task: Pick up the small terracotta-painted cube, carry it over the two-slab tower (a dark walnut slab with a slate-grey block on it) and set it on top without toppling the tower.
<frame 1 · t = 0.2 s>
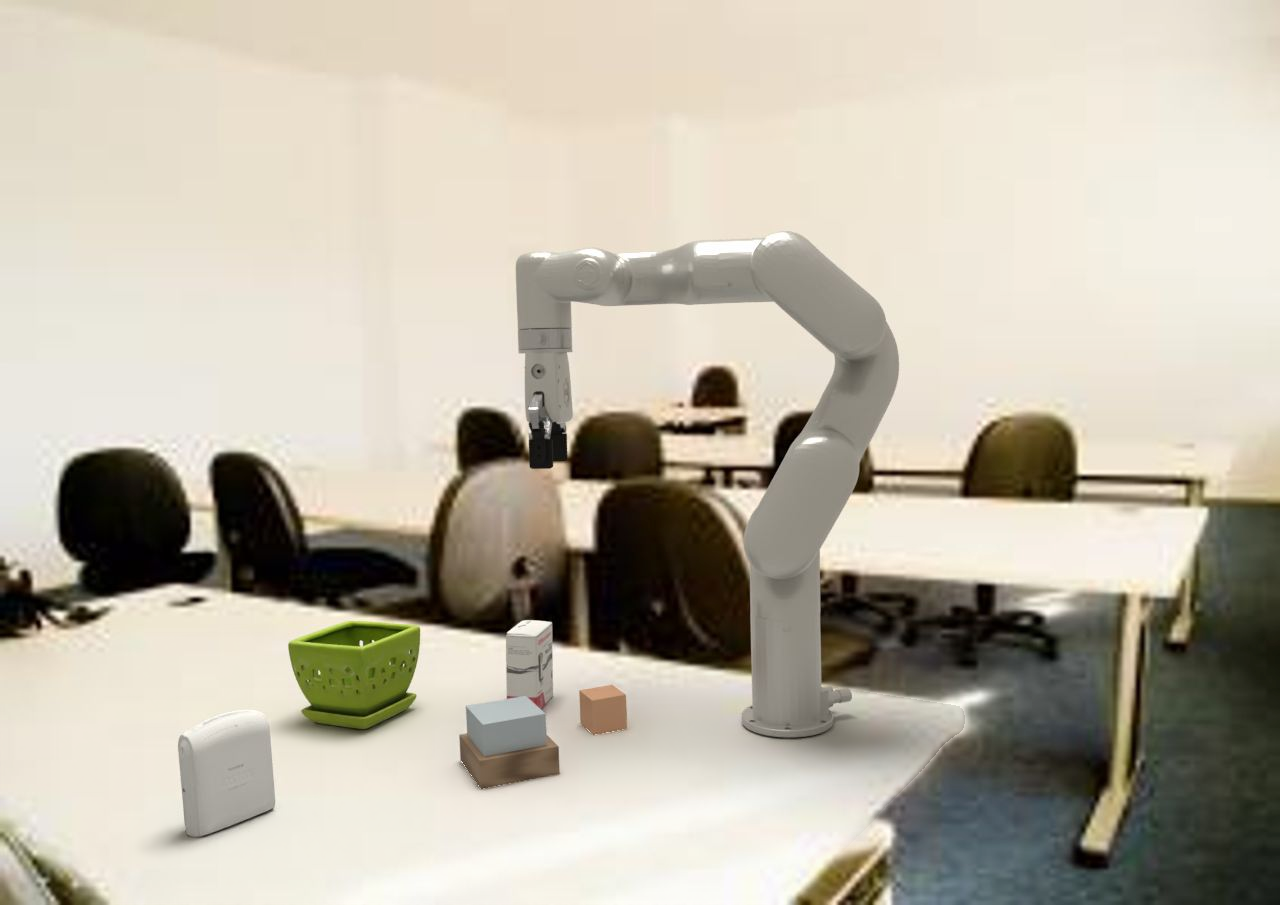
hand: (549, 464, 150), 36 cm above the table, tool pointing down, fingers open, 9 cm apart
walnut slab: (509, 771, 135), on the table, touching slate block
slate block: (506, 740, 134), point 4 cm above the table, touching walnut slab
flower pot: (360, 718, 156), on the table
terracotta cube: (603, 727, 148), on the table
photo printer: (231, 821, 122), on the table
ink box: (531, 706, 159), on the table
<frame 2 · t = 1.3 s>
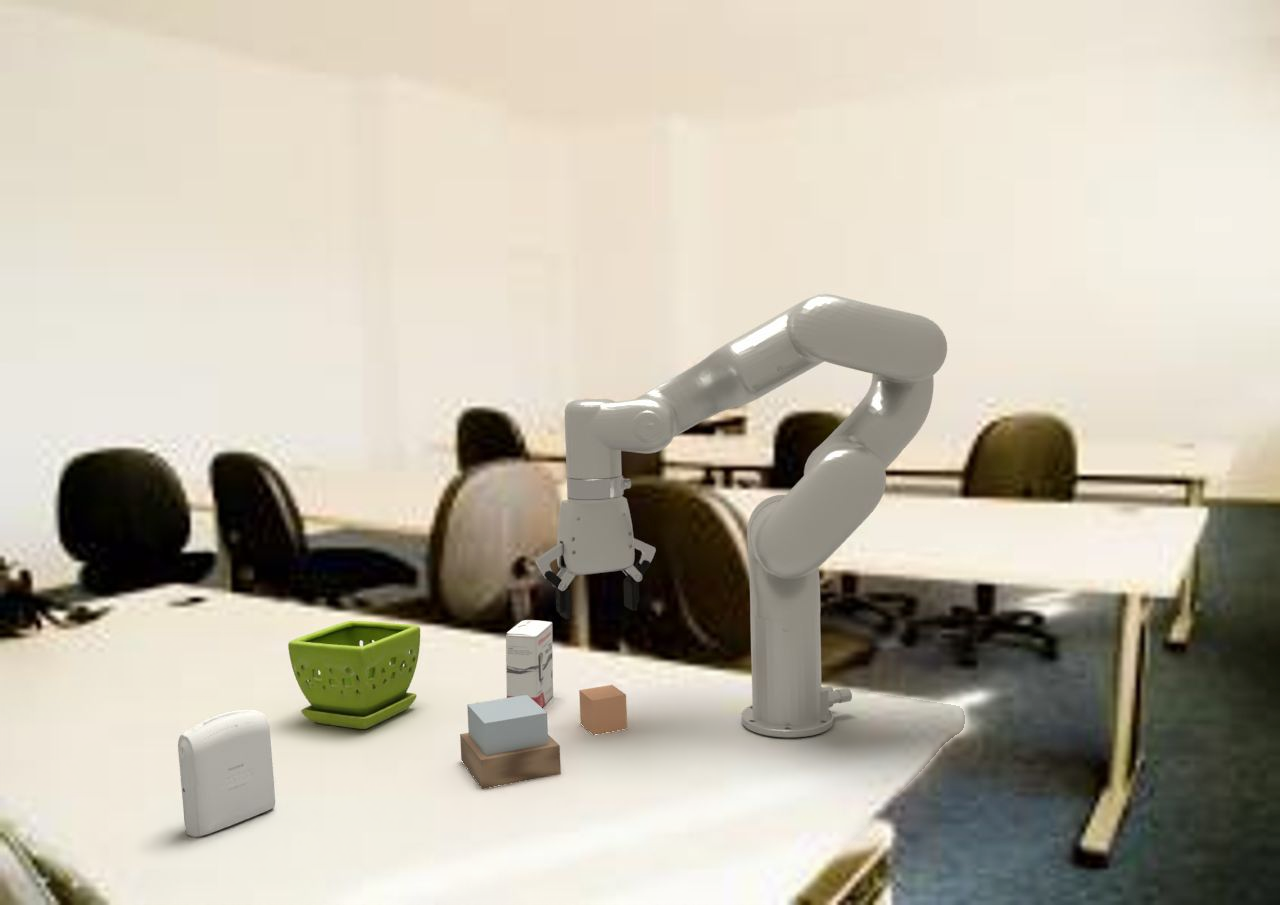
hand: (598, 612, 147), 16 cm above the table, tool pointing down, fingers open, 9 cm apart
nothing on the table moved.
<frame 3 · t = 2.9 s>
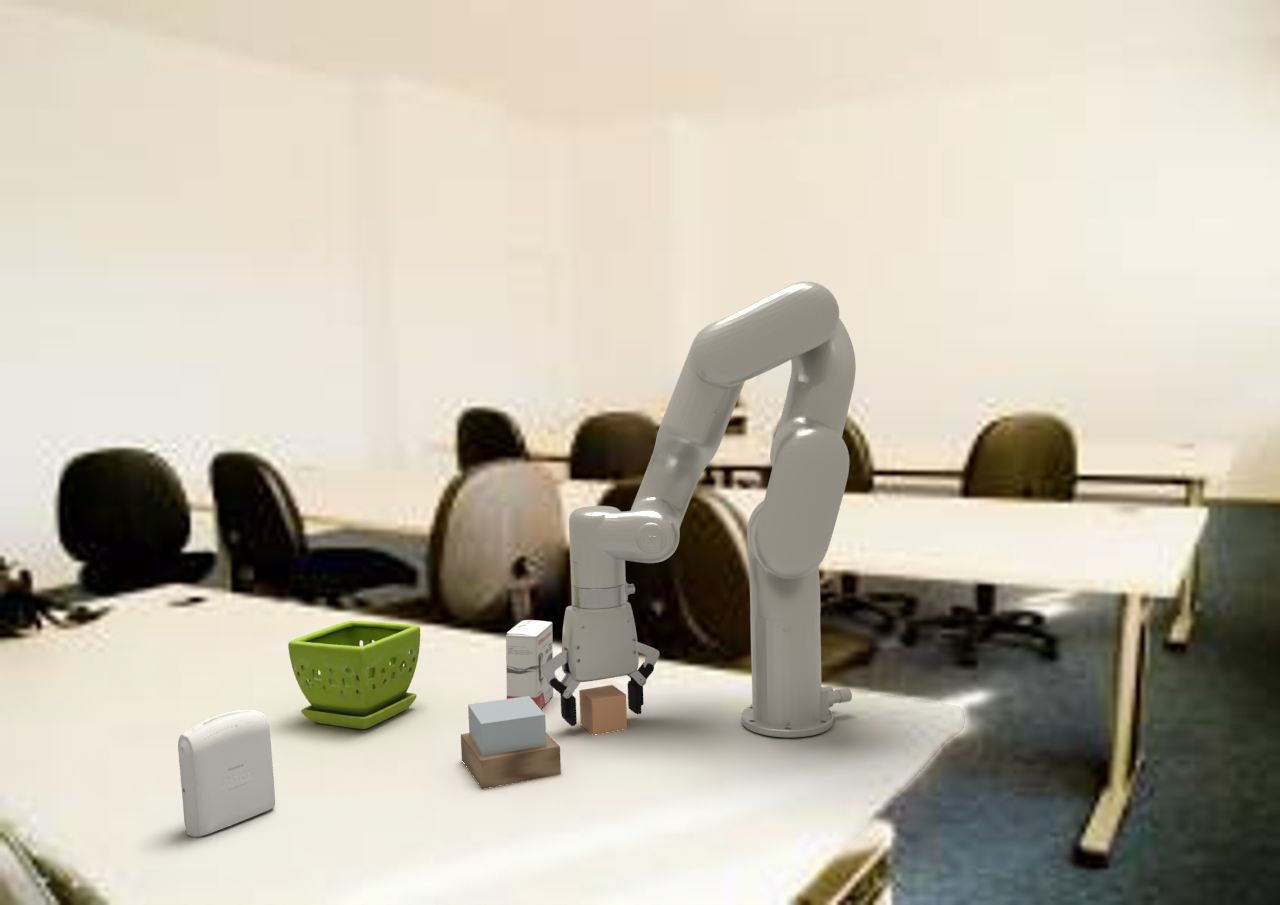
hand: (603, 717, 148), 1 cm above the table, tool pointing down, fingers open, 9 cm apart
nothing on the table moved.
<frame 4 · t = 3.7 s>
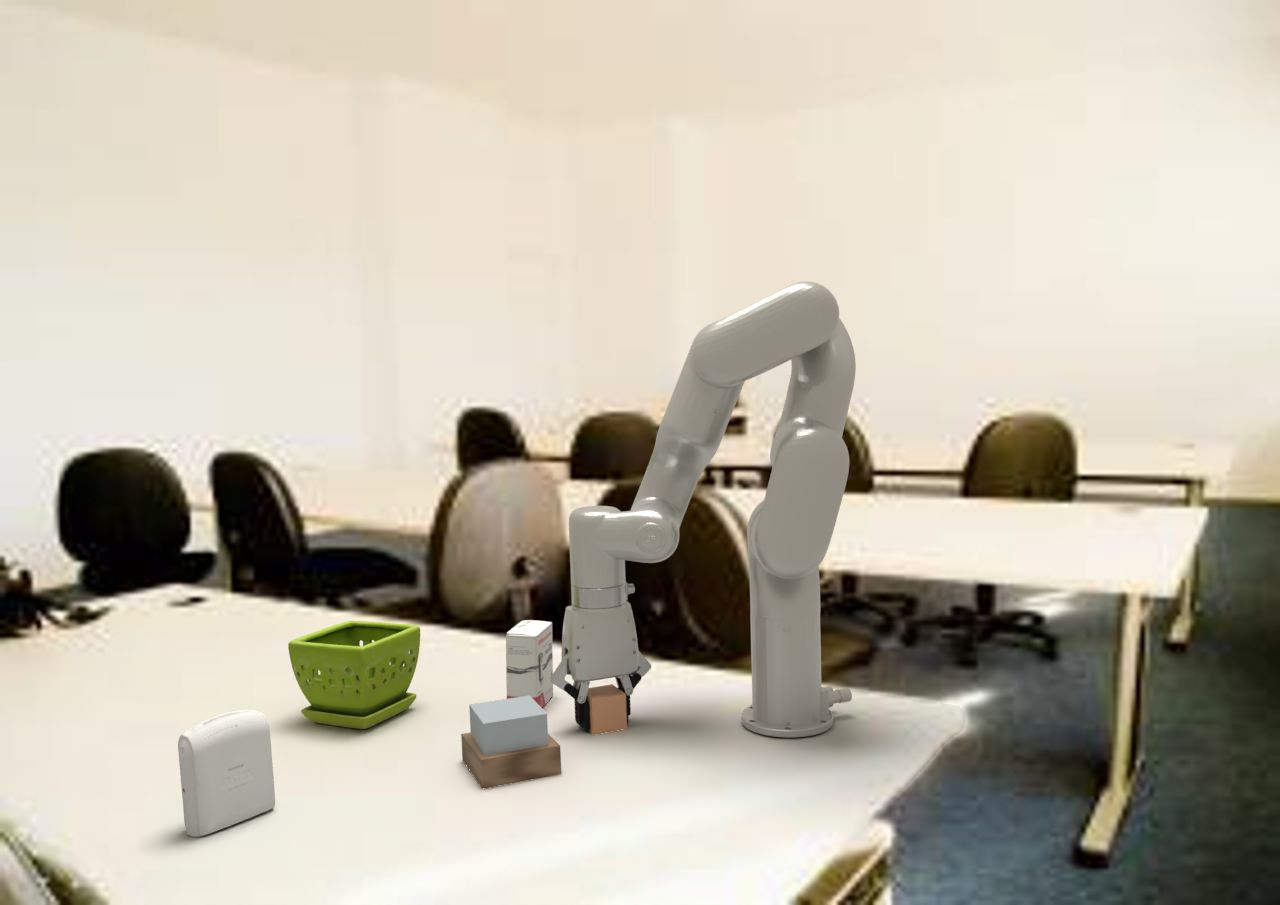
hand: (603, 723, 148), 0 cm above the table, tool pointing down, fingers closed on terracotta cube, 5 cm apart
walnut slab: (511, 770, 135), on the table
slate block: (508, 739, 134), point 4 cm above the table
terracotta cube: (603, 726, 148), on the table, touching gripper
everything else where it was.
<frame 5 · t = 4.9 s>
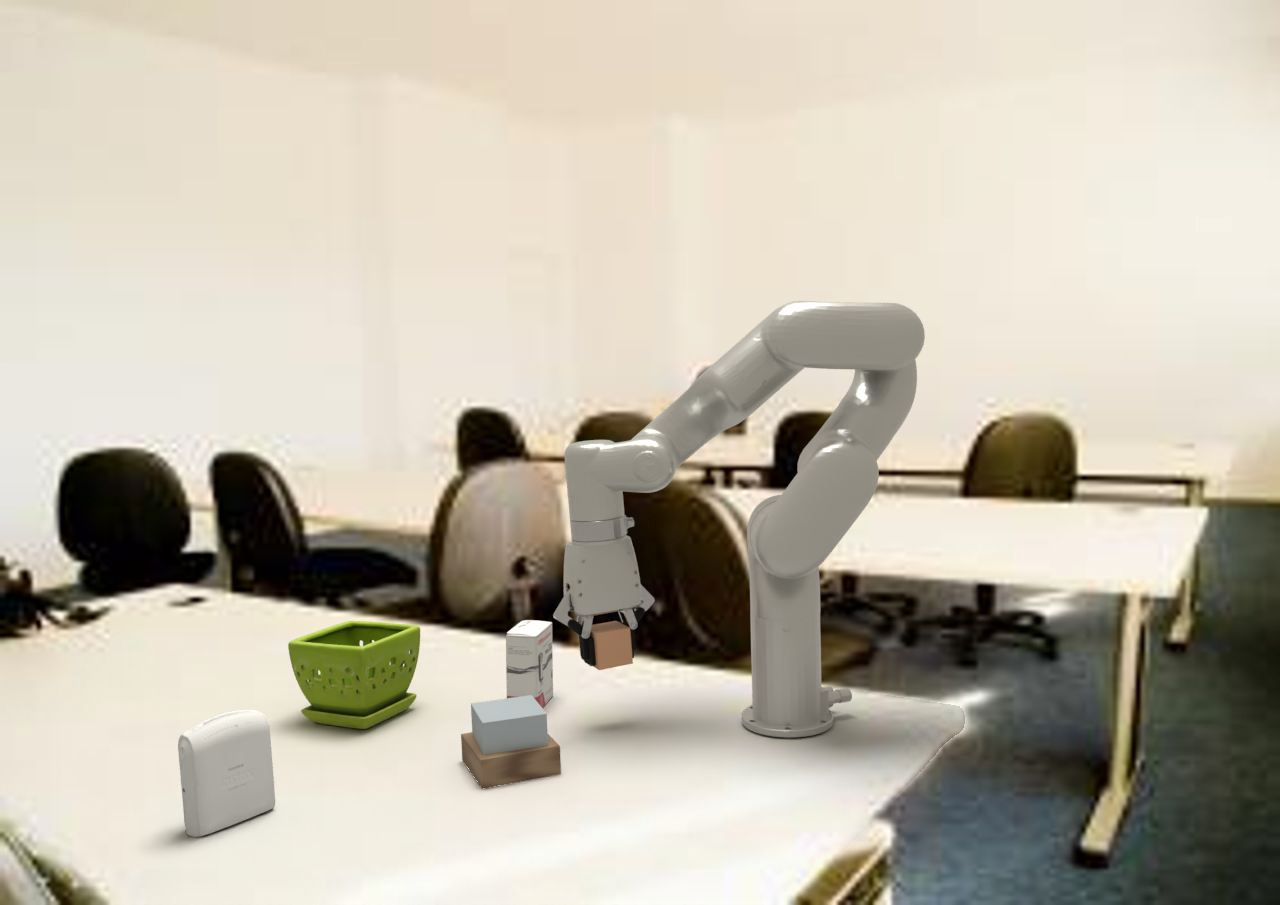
hand: (608, 658, 147), 10 cm above the table, tool pointing down, fingers closed on terracotta cube, 5 cm apart
walnut slab: (510, 770, 135), on the table, touching slate block
slate block: (509, 739, 134), point 4 cm above the table, touching walnut slab
terracotta cube: (609, 662, 147), point 9 cm above the table, touching gripper
everything else where it was.
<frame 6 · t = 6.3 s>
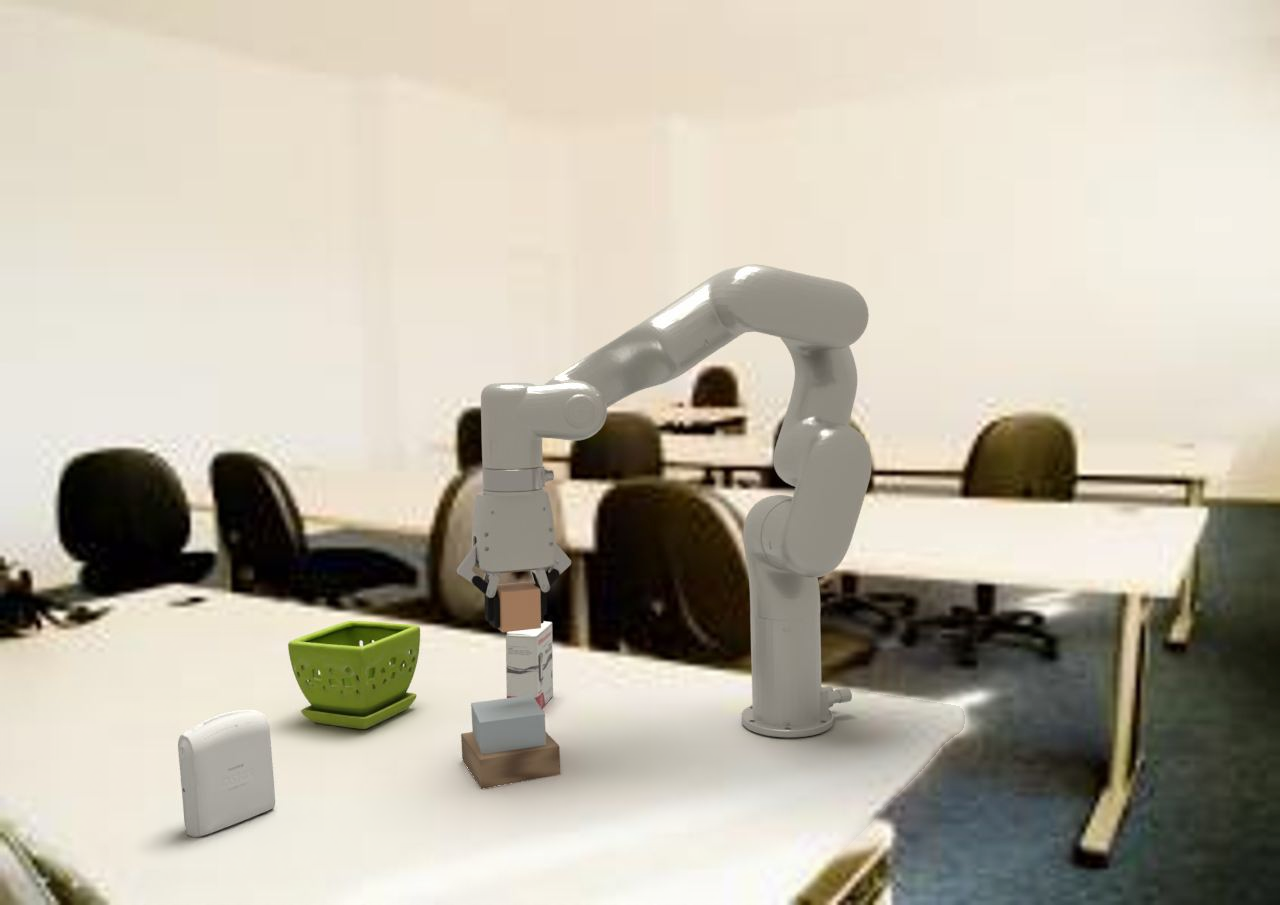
hand: (516, 622, 135), 18 cm above the table, tool pointing down, fingers closed on terracotta cube, 5 cm apart
terracotta cube: (516, 625, 135), point 18 cm above the table, touching gripper
everything else where it was.
when the fingers open (10 cm above the table, at t = 8.8 s): terracotta cube drops 2 cm, resting on slate block.
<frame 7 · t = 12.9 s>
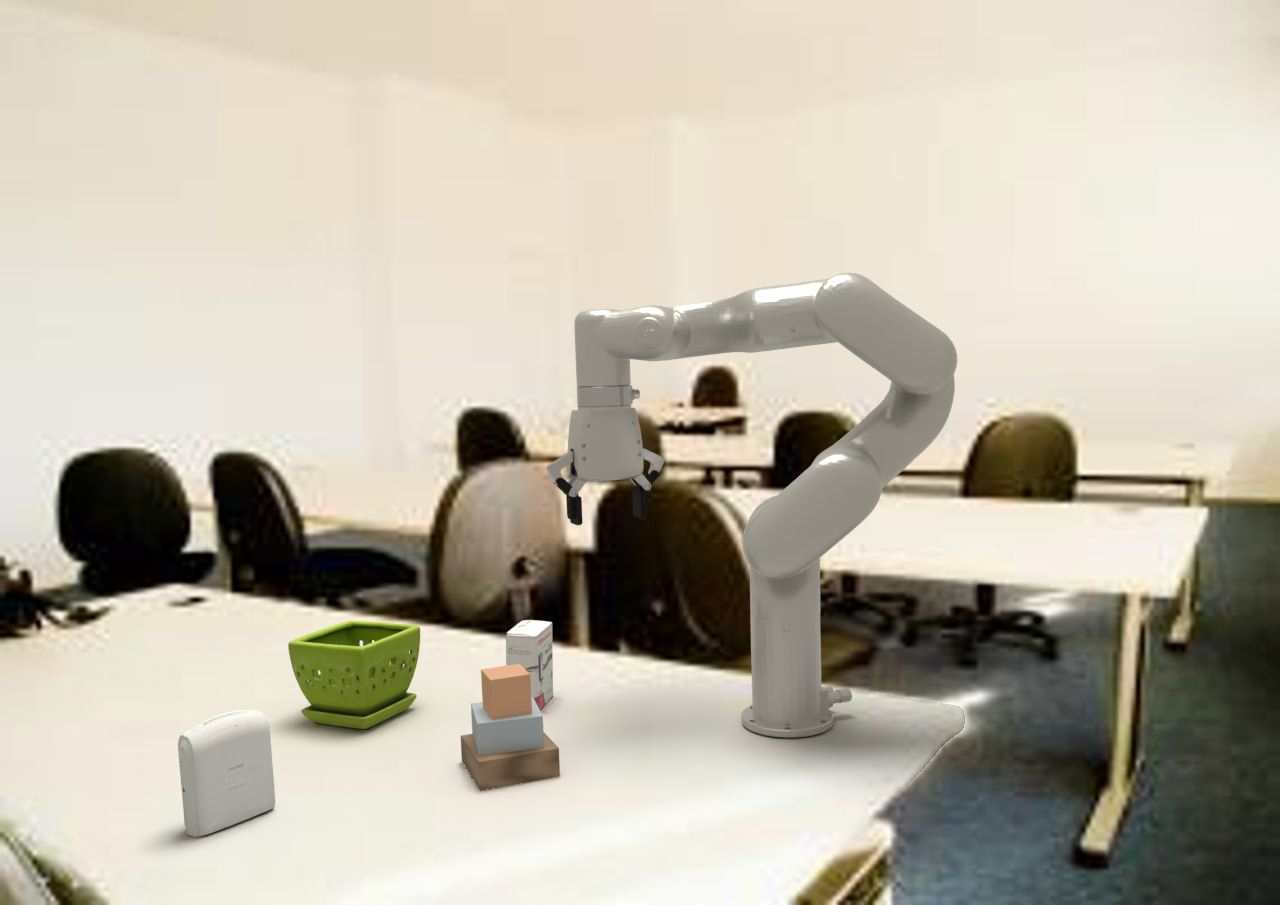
hand: (608, 520, 150), 28 cm above the table, tool pointing down, fingers open, 9 cm apart
slate block: (507, 740, 134), point 4 cm above the table, touching terracotta cube, walnut slab
terracotta cube: (507, 710, 133), point 8 cm above the table, touching slate block
everything else where it was.
at the end: terracotta cube 0.5 cm from the slate block (horizontally); terracotta cube point 7.6 cm above the table; terracotta cube tilted 0° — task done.
